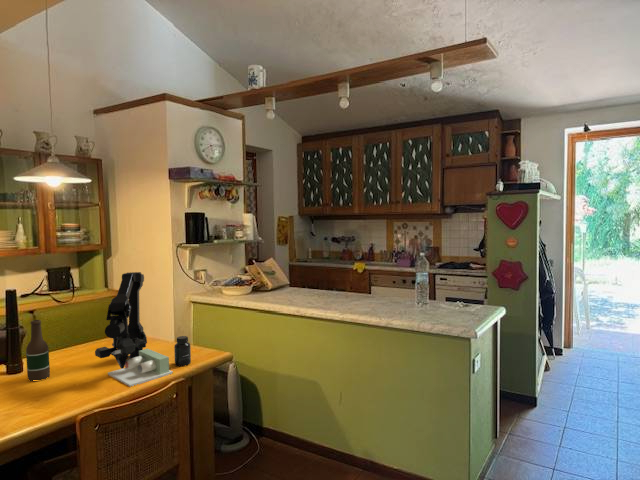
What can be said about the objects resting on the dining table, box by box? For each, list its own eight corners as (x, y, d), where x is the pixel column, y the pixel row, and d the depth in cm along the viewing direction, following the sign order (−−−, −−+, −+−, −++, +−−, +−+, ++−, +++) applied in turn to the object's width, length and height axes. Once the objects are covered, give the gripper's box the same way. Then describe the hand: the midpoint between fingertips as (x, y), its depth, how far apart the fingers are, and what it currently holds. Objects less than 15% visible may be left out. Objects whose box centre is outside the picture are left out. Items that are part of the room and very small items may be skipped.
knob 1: (152, 360, 192) (151, 351, 192) (156, 362, 190) (156, 353, 189) (123, 368, 183) (123, 359, 183) (128, 370, 180) (127, 361, 180)
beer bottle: (54, 375, 181) (51, 318, 179) (37, 382, 173) (33, 323, 172) (40, 373, 183) (37, 317, 182) (22, 380, 176) (19, 322, 174)
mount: (107, 374, 182) (107, 358, 181) (149, 362, 195) (148, 347, 195) (130, 386, 168) (129, 369, 168) (172, 373, 182) (172, 357, 181)
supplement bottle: (186, 367, 189) (185, 339, 188) (171, 366, 191) (170, 339, 190) (193, 361, 196) (192, 335, 195) (179, 360, 197) (178, 334, 196)
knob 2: (165, 364, 187) (165, 355, 187) (170, 366, 185) (170, 356, 184) (137, 372, 178) (137, 362, 178) (142, 374, 175) (141, 365, 175)
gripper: (105, 340, 167) (107, 379, 168) (151, 329, 181) (153, 366, 182) (93, 334, 174) (95, 372, 176) (139, 325, 188) (140, 360, 189)
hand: (122, 368), depth 180 cm, fingers closed
